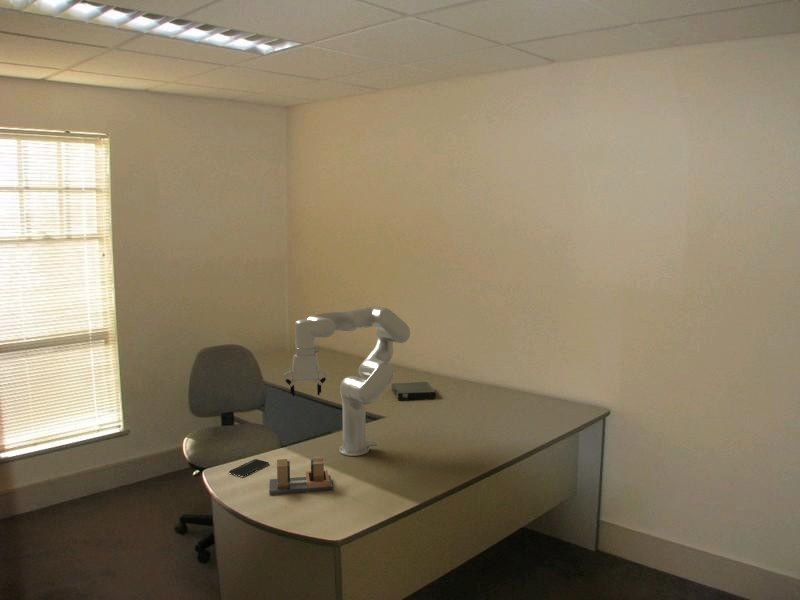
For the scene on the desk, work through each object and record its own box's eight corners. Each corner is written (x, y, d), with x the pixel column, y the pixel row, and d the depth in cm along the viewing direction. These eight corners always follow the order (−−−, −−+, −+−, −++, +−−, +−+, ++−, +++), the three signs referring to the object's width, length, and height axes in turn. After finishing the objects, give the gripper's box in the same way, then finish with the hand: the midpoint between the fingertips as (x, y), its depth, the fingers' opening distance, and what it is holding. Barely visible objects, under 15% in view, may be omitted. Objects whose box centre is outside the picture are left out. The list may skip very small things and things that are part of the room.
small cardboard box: (323, 484, 222) (323, 463, 221) (311, 485, 222) (311, 464, 221) (323, 477, 229) (322, 456, 228) (311, 478, 228) (310, 457, 227)
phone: (227, 471, 236) (255, 458, 248) (227, 474, 236) (255, 461, 249) (243, 476, 232) (270, 462, 244) (243, 478, 232) (270, 465, 245)
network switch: (387, 391, 352) (387, 383, 351) (426, 388, 359) (426, 380, 358) (399, 403, 330) (399, 394, 329) (440, 399, 337) (440, 390, 336)
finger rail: (330, 478, 231) (330, 454, 230) (332, 490, 221) (332, 464, 220) (269, 483, 227) (269, 458, 226) (269, 495, 217) (268, 469, 216)
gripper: (327, 349, 244) (327, 391, 246) (282, 350, 241) (283, 393, 243) (328, 352, 236) (329, 396, 239) (282, 354, 233) (283, 398, 235)
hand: (306, 395), depth 241 cm, fingers open, 9 cm apart
